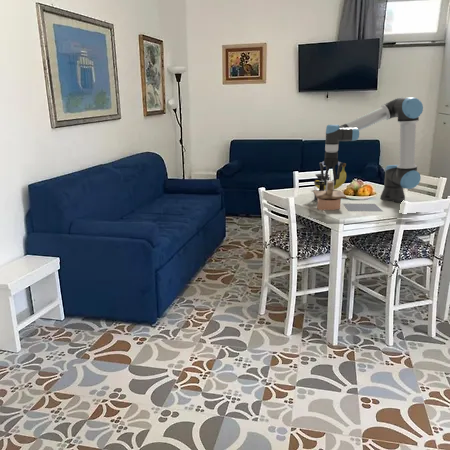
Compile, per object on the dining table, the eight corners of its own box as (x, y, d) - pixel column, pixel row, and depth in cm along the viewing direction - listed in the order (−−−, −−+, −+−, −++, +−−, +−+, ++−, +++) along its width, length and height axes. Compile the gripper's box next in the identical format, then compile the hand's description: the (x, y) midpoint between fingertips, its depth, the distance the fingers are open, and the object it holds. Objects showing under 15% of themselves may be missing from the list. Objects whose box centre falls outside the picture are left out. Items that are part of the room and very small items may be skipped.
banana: (313, 190, 325) (314, 163, 320) (313, 189, 330) (314, 162, 325) (345, 191, 320) (347, 163, 315) (345, 189, 326) (347, 162, 320)
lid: (341, 192, 277) (341, 179, 275) (346, 198, 261) (346, 184, 258) (313, 192, 278) (314, 179, 276) (316, 198, 262) (317, 184, 260)
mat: (374, 204, 279) (374, 203, 279) (383, 212, 260) (383, 211, 259) (342, 204, 280) (342, 203, 280) (348, 212, 261) (348, 211, 261)
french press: (313, 201, 290) (315, 166, 284) (312, 198, 299) (313, 164, 293) (331, 201, 289) (333, 166, 282) (329, 198, 298) (331, 164, 291)
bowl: (337, 205, 277) (338, 195, 276) (341, 210, 265) (341, 200, 263) (316, 205, 278) (316, 195, 277) (319, 210, 266) (319, 200, 264)
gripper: (344, 150, 265) (341, 189, 272) (316, 150, 266) (315, 189, 273) (346, 152, 258) (344, 191, 264) (318, 152, 259) (316, 191, 266)
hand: (329, 190), depth 269 cm, fingers closed on lid, 3 cm apart
